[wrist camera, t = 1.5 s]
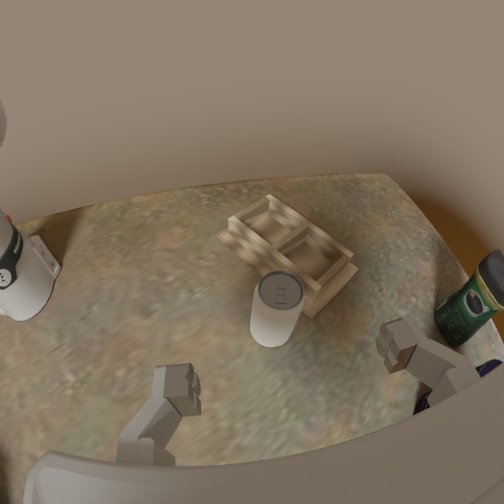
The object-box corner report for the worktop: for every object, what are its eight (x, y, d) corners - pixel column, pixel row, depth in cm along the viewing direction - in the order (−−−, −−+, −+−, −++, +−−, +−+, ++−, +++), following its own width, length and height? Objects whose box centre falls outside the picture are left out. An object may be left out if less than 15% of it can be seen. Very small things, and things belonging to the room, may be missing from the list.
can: (291, 312, 45) (306, 268, 35) (291, 349, 40) (309, 314, 31) (251, 309, 45) (255, 265, 35) (248, 346, 40) (252, 311, 31)
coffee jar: (470, 336, 41) (530, 284, 27) (450, 353, 39) (517, 302, 25) (449, 299, 47) (501, 240, 32) (427, 312, 45) (484, 251, 30)
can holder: (216, 236, 54) (215, 217, 50) (266, 204, 61) (268, 186, 57) (311, 319, 44) (319, 305, 40) (357, 271, 50) (366, 255, 46)
